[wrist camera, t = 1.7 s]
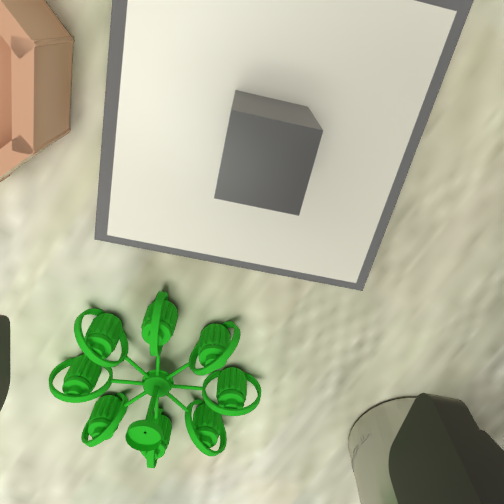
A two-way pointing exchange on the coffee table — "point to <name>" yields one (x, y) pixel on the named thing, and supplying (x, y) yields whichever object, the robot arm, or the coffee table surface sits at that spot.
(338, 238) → the lid
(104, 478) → the coffee table surface
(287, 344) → the coffee table surface
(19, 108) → the bowl
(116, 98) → the mat
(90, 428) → the chandelier
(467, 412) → the robot arm
